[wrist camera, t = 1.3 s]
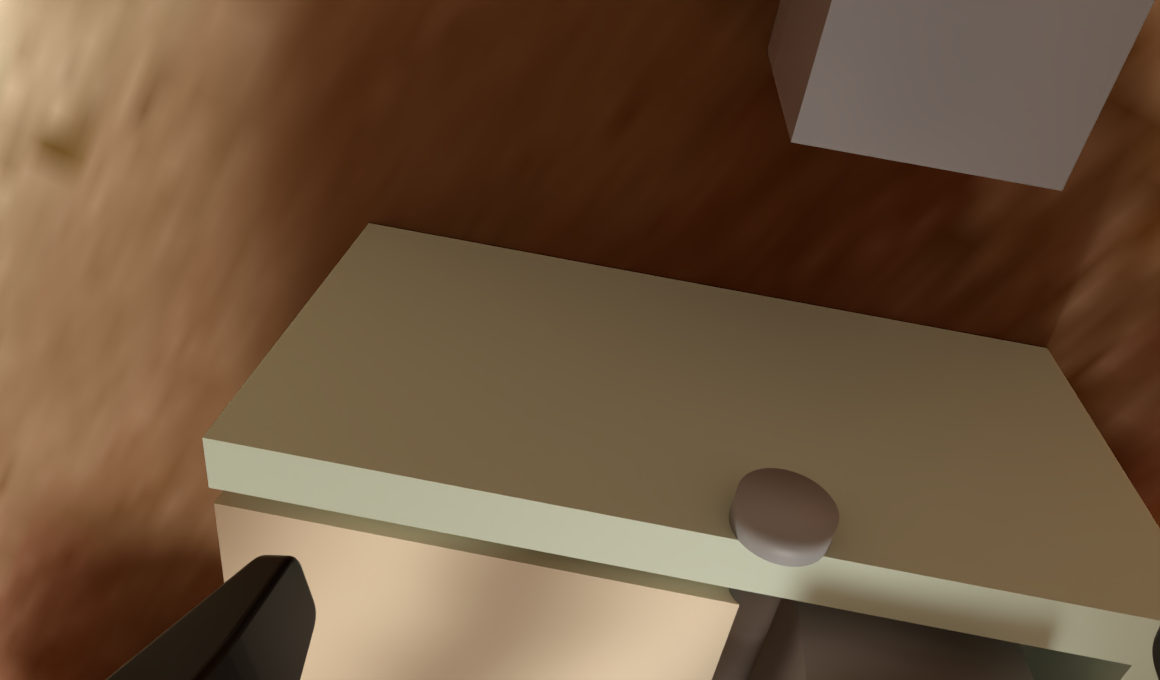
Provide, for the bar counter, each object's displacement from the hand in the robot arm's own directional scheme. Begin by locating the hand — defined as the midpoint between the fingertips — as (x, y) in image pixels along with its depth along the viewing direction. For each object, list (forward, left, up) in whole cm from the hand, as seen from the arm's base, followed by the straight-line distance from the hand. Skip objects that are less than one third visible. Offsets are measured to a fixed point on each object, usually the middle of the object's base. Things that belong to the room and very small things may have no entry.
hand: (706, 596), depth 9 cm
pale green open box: (-1, +11, -14) cm, 17 cm away
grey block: (-3, -5, -14) cm, 15 cm away
